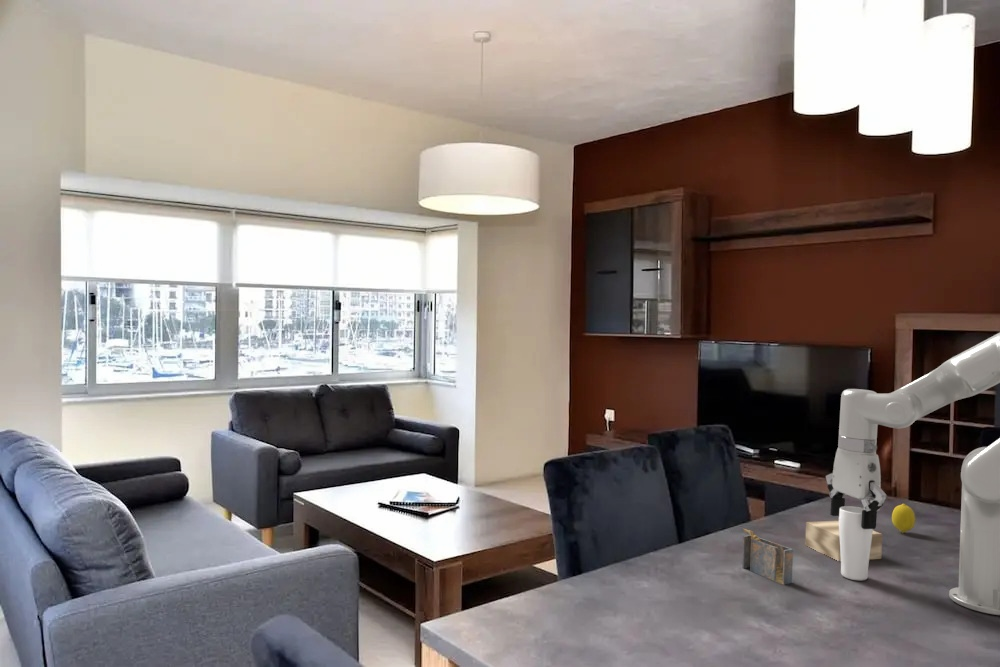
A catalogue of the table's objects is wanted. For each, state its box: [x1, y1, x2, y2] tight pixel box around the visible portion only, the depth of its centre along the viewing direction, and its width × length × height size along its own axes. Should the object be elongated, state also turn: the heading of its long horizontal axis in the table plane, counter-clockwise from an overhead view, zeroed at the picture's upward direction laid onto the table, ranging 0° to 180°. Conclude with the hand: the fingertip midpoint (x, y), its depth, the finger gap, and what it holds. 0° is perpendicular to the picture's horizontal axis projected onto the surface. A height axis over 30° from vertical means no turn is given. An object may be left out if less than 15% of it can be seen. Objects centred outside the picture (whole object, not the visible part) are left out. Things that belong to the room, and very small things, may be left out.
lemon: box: [891, 503, 916, 534], centre depth 192 cm, size 6×6×8 cm
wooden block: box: [804, 520, 883, 562], centre depth 173 cm, size 12×12×6 cm
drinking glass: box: [838, 505, 874, 582], centre depth 155 cm, size 7×7×15 cm
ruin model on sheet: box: [741, 527, 794, 585], centre depth 155 cm, size 11×3×10 cm, turn 29°
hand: (852, 521), depth 156 cm, fingers open, 9 cm apart
